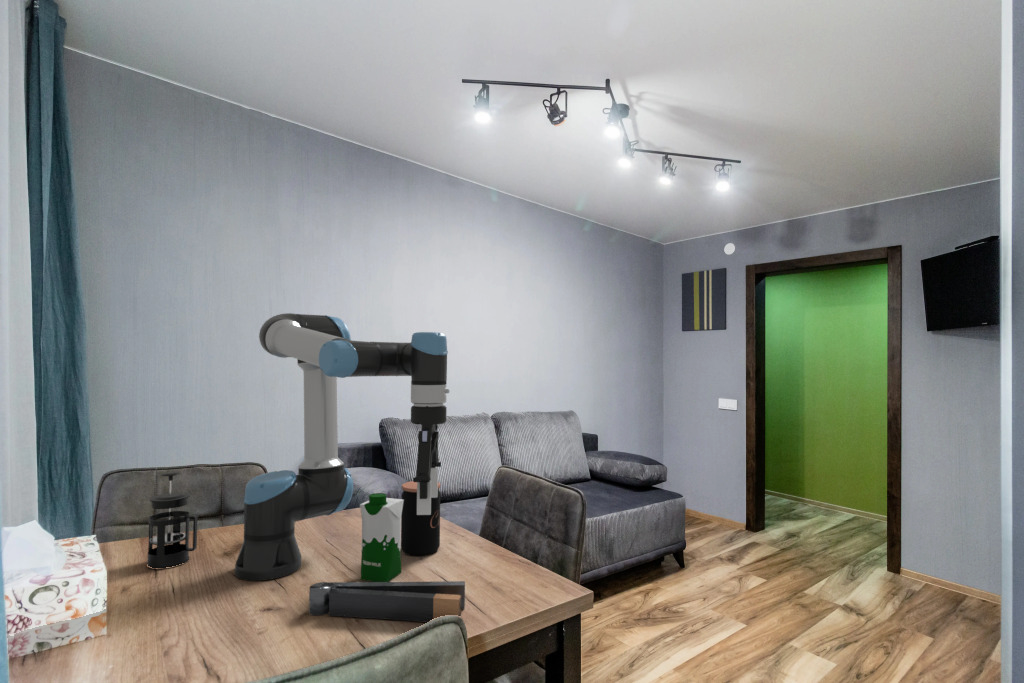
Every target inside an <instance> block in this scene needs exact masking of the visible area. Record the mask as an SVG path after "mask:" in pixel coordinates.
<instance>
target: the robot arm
mask: <svg viewBox="0 0 1024 683" xmlns="http://www.w3.org/2000/svg"><path fill="white" fill-rule="evenodd" d="M258 339H259V343H260V345H261V347H262V348H263V350H264V351H265V352H266V353H268V354H270V355H272V356H276V357H277V358H283V359H284V358H285V359H286V358H293V359H296V360H297V366H298V367H299V368H300V369H301V370H302V371H303V431H304V432H303V439H304V440H303V441H304V442H303V447H304V450H303V451H304V458H303V461H302V462H301V463H300V464H299V465H298V466H297V467H298V470H297V471H298V474H296V472H295V471H293V470H286V469H285V470H284V469H283V470H276V471H275V470H274V471H270V472H266V473H265V472H264V473H263V474H260V475H257V476H254V477H253V478H251V479H250V480H248V482H246V485H245V491H244V498H243V503H244V504H243V506H244V507H243V510H244V511H243V512H244V513H243V515H244V516H243V541H242V544H241V547H240V550H239V553H238V555H237V558H236V561H235V565H234V576H235V577H237V578H238V579H240V580H243V581H244V580H245V581H255V582H256V581H257V582H258V581H269V580H273V579H279V578H283V577H285V576H288V575H291V574H293V573H295V572H296V571H298V570H299V569H300V568H301V567H302V554H301V552H300V548H299V545H298V541H297V539H296V535H295V528H296V527H295V525H296V524H295V523H296V522H299V521H304V520H309V519H314V518H318V517H321V516H322V517H323V516H330V515H333V514H335V513H339V512H342V511H344V509H346V508H347V506H348V505H349V504H350V502H351V500H352V497H353V492H354V481H353V480H354V479H353V477H351V476H352V473H351V471H350V470H349V469H348V468H345V463H344V462H343V460H342V459H340V458H339V449H338V448H339V447H338V446H339V445H338V439H339V436H338V434H339V433H338V382H337V380H338V378H340V379H343V378H353V377H411V381H410V403H411V404H413V405H412V406H411V407H410V422H411V424H412V425H413V424H414V425H421V429H420V430H419V431H418V433H417V440H418V444H417V458H416V459H417V460H416V473H415V474H416V475H415V477H412V481H413V482H417V515H431V498H437V497H438V482H439V476H438V475H439V468H441V467H442V462H441V461H440V459H439V434H440V433H439V431H438V429H439V428H438V427H439V426H438V425H442V424H445V423H446V422H447V407H446V405H444V404H446V402H447V394H449V393H450V388H447V381H448V380H447V379H448V378H447V377H448V375H447V374H448V372H447V371H448V353H449V352H448V341H447V336H446V335H445V333H443V332H433V331H426V332H425V331H419V332H413V334H412V335H411V342H391V341H386V342H385V341H362V340H361V341H360V340H359V341H358V340H352V339H351V334H350V329H349V327H348V325H347V324H346V323H345V322H344V321H343V320H342V319H341V318H339V317H335V316H331V315H320V314H319V315H318V314H305V313H304V314H302V313H301V314H300V313H293V312H292V313H291V312H289V313H287V312H286V313H279V314H276V315H273V316H271V317H269V318H268V319H267V320H265V322H264V323H263V324H262V326H261V328H260V329H259V334H258Z"/></svg>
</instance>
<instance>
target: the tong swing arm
mask: <svg viewBox="0 0 1024 683" xmlns="http://www.w3.org/2000/svg"><path fill="white" fill-rule="evenodd" d="M445 615H458V616H461V617H462V609H461V595H451V594H428V593H412V592H395V591H378V590H361V589H344V588H333V589H332V590H331V591H330V592H329V613H328V616H333V617H345V618H346V617H348V618H349V617H350V618H361V619H362V618H363V619H364V618H366V619H378V620H390V621H391V620H393V621H410V622H424V623H429V622H428V621H430V620H432V619H434V618H437V617H440V616H445Z"/></svg>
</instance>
